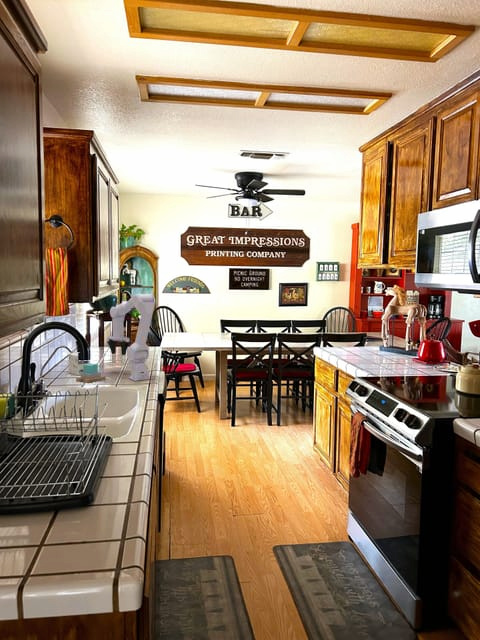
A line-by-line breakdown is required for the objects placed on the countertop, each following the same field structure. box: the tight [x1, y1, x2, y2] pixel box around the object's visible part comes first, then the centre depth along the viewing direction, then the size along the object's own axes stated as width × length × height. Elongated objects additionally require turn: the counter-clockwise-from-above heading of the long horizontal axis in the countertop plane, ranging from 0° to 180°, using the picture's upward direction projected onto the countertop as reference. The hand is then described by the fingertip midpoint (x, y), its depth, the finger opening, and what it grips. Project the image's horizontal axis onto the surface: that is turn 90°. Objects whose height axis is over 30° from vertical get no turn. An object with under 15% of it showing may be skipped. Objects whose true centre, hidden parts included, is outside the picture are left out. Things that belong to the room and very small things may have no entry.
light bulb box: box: [67, 352, 90, 376], centre depth 259 cm, size 11×7×11 cm, turn 47°
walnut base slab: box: [75, 375, 106, 384], centre depth 241 cm, size 10×10×2 cm
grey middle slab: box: [79, 371, 102, 379], centre depth 241 cm, size 7×7×2 cm
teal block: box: [83, 363, 99, 374], centre depth 241 cm, size 5×5×4 cm
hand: (118, 354), depth 259 cm, fingers open, 7 cm apart
